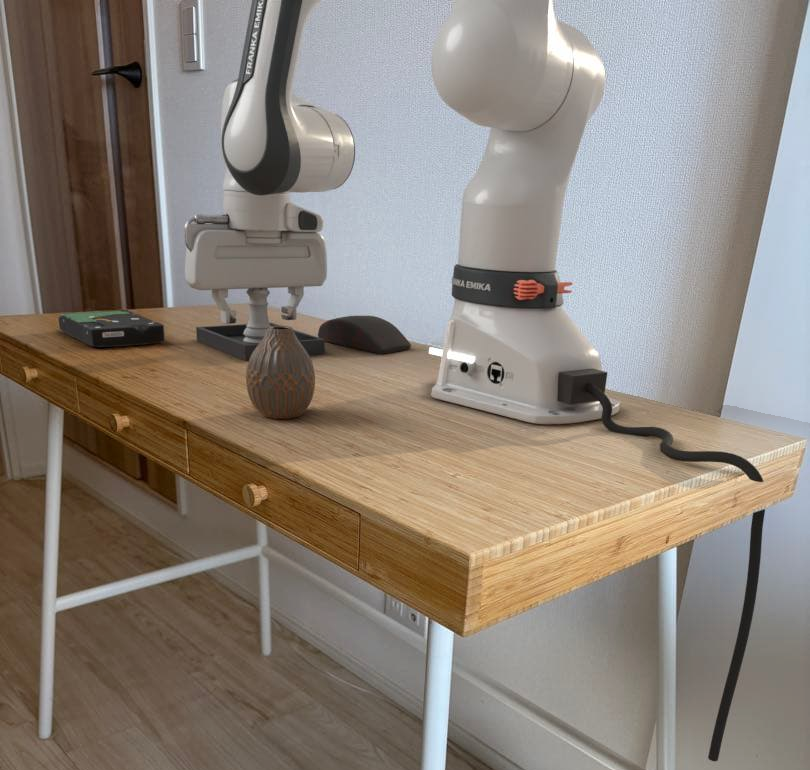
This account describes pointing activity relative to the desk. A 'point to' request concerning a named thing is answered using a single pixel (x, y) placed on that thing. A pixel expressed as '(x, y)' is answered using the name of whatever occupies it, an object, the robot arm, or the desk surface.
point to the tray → (233, 344)
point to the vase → (280, 375)
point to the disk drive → (111, 328)
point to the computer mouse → (364, 334)
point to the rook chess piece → (257, 316)
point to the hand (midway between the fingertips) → (259, 321)
